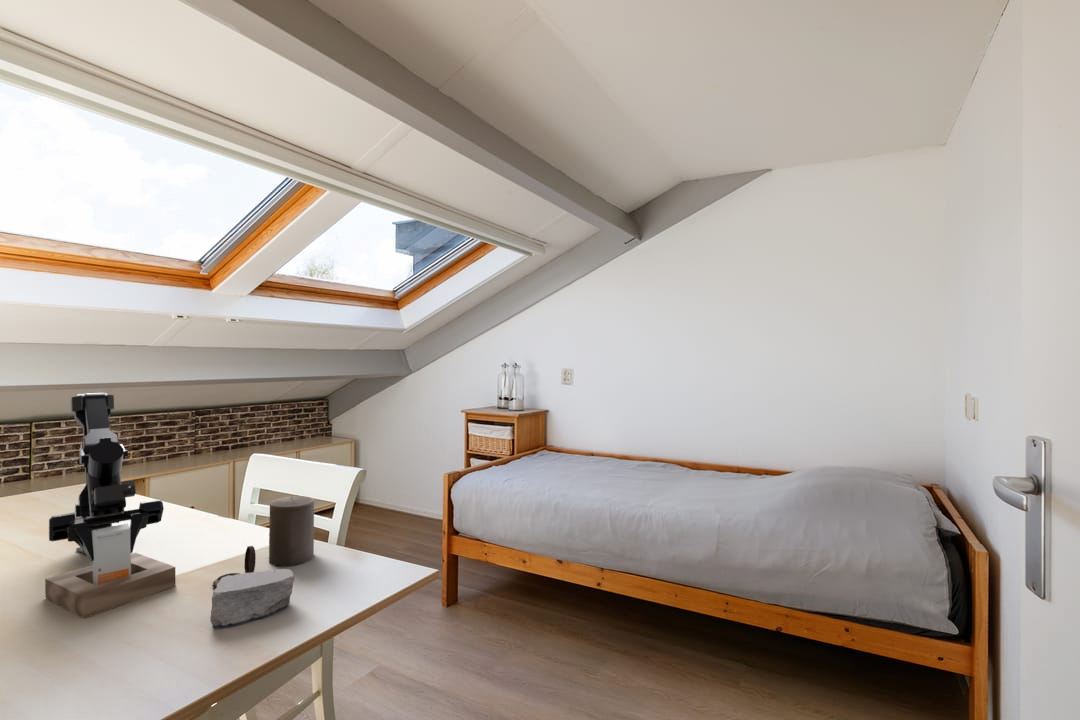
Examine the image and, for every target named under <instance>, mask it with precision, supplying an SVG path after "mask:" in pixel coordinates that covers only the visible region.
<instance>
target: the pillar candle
mask: <svg viewBox="0 0 1080 720" xmlns="http://www.w3.org/2000/svg"><path fill="white" fill-rule="evenodd" d="M314 523H315V498H313V497H310V496H300V495H298V496H297V495H296V496H292V495H290V496H285V497H284V496H283V497H280V498H276V499H273V500H271V501H270V502H269V534H268V537H269V538H268V562H269V563H270V564H271V563H272V564H271V565H273V566H278V567H289V566H290V567H291V566H298V565H301V564H304V563H303V562H305V563H307V562H309V561H310V559H311V558H312V557H313V558H314V555H315V554H314V551H315V549H314V547H315V546H314V544H315V541H314V539H315V534H314V533H315V524H314ZM313 558H312V559H313ZM312 559H311V560H312ZM308 560H309V561H308ZM306 561H307V562H306ZM300 563H301V564H300ZM297 564H298V565H297Z"/></svg>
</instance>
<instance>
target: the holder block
mask: <svg viewBox="0 0 1080 720" xmlns="http://www.w3.org/2000/svg"><path fill="white" fill-rule="evenodd" d="M44 583H45V584H44V589H45V590H44V591H45V592H44V594H45V598H46V599H45V600H47V599H48V600H47V601H49V602H51V603H53V604H55V605H57V606H59V607H61V608H62V609H65V610H66V611H69V612H71V613H73V614H75V615H77V616H79V617H80V618H82V619H86V618H89V617H92V616H94V615H98V614H100V613H103V612H106V611H109V610H111V609H114V608H116V607H117V608H118V607H120V606H123V605H126V604H128V603H132V602H135V601H137V600H139V599H143V598H145V597H148V596H151V595H153V594H157V593H159V592H162V591H165V590H168V589H171V588H174V587H176V566H174V565H171V564H168V563H165V562H163V561H160V560H157V559H154V558H151V557H148V556H145V555H143V554H140V553H138V552H132V553H131V575H129V576H126V577H123V578H120V579H116V580H113V581H110V582H107V583H104V584H101V585H98V586H96V585H94V584H93V564H92V565H87V566H84V567H81V568H77V569H74V570H73V569H72V570H70V571H67V572H64V573H60V574H57V575H53V576H50V577H46V578H45V579H44ZM131 601H132V602H131Z"/></svg>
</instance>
